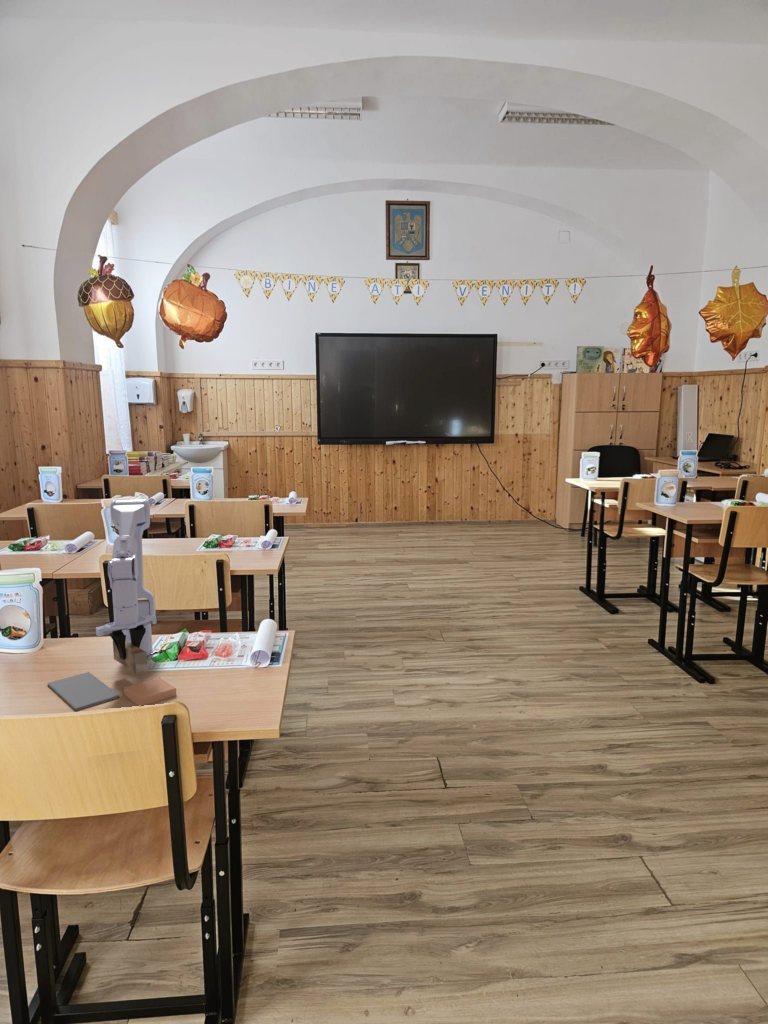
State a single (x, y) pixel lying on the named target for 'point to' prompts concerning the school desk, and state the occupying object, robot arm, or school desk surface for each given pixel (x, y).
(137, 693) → the tile
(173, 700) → the school desk surface
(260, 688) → the school desk surface
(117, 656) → the brown block
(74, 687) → the mat
